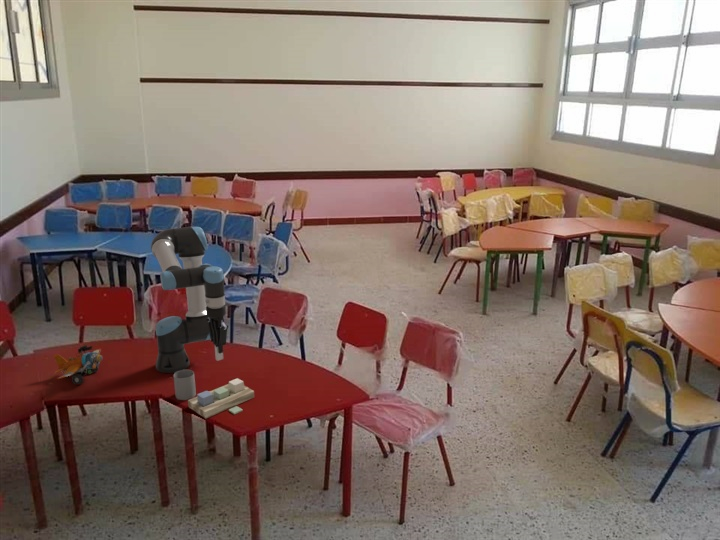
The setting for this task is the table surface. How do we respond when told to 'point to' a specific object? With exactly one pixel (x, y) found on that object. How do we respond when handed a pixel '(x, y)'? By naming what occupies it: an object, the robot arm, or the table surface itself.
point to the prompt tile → (235, 410)
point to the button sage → (221, 393)
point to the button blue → (205, 398)
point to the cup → (184, 384)
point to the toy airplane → (79, 364)
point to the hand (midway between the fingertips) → (219, 359)
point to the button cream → (236, 386)
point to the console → (221, 402)
